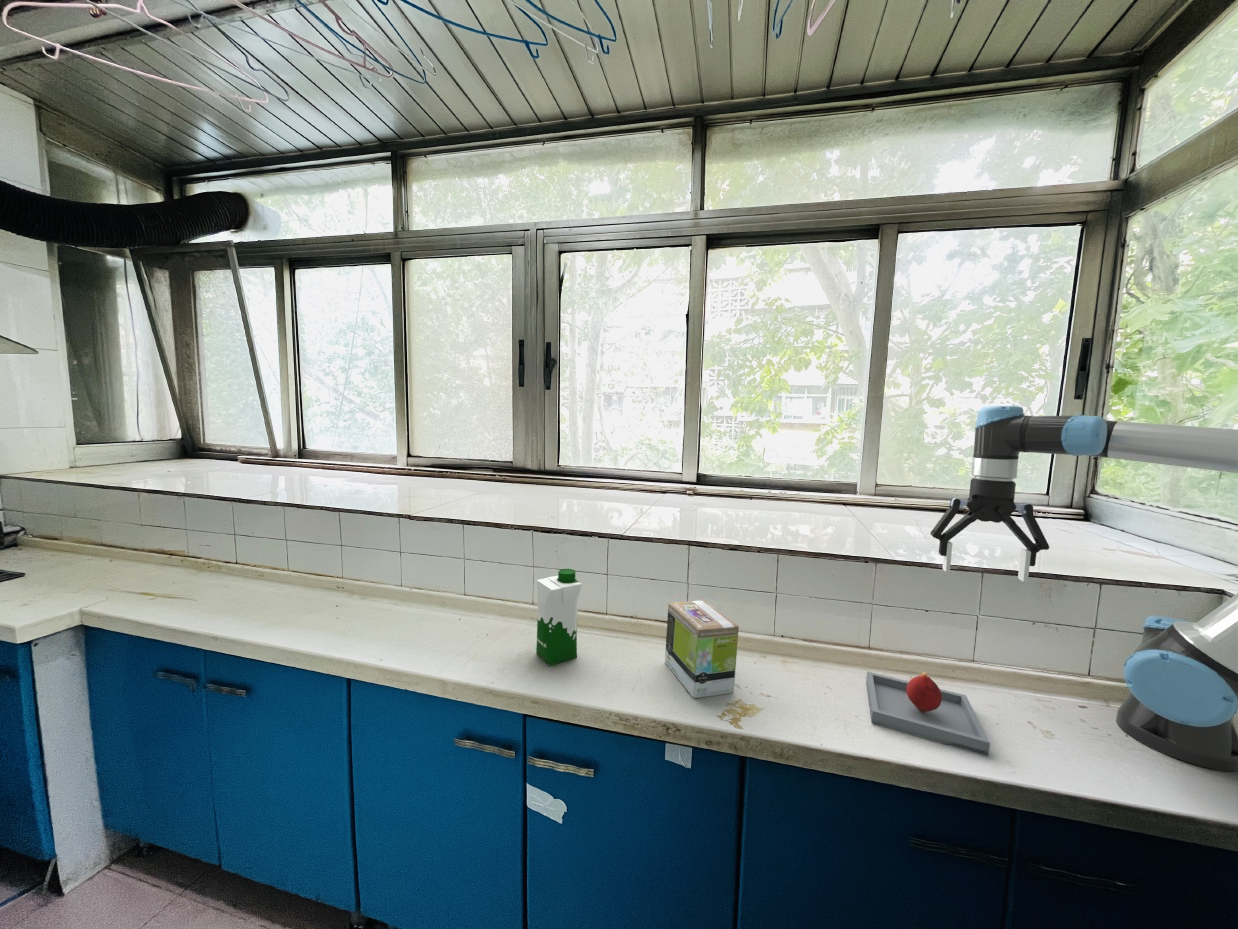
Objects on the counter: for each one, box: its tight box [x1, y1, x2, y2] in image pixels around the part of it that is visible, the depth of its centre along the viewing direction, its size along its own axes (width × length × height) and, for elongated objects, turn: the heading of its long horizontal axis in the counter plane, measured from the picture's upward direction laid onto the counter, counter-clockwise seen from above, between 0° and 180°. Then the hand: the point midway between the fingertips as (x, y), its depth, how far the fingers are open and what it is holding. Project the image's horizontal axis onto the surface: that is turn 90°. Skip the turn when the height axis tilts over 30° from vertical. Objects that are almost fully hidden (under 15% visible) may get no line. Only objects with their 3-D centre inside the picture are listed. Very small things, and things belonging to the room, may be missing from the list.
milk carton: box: [535, 568, 583, 667], centre depth 106 cm, size 9×9×20 cm
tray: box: [865, 671, 991, 757], centre depth 90 cm, size 18×16×2 cm
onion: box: [906, 671, 942, 712], centre depth 90 cm, size 6×6×8 cm
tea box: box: [664, 599, 740, 699], centre depth 100 cm, size 15×10×15 cm
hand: (983, 575), depth 99 cm, fingers open, 13 cm apart
